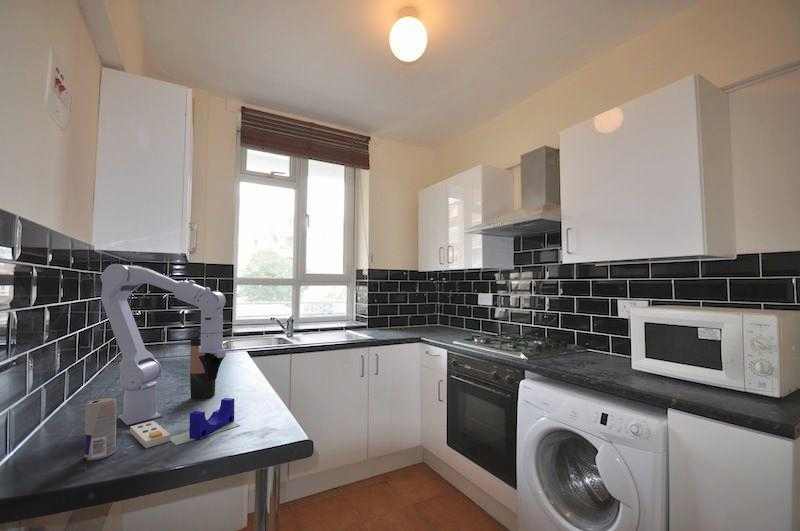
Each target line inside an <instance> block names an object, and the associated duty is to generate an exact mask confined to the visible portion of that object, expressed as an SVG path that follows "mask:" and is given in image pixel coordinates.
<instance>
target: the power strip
mask: <svg viewBox="0 0 800 531" xmlns="http://www.w3.org/2000/svg"><path fill="white" fill-rule="evenodd" d="M129 430H130V431H129V432H130V434H131V435H132V436H133V437H134V438H135V439H136V440H137V441H138V442H139V443H140V444H141V445H142V446H143V447H144V448H145V449H148V448H151V447H154V446H157V445H161V444H165V443H168V442H171V441H170V437H171V434H170V433H169V431H167V430H165V428H163V427H162V426H161V425H159V424H158V423H157V422H156V421H154V420H151V421H146V422H143V423H139V424H135V425H131V426H130V427H129Z"/></svg>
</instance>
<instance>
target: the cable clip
mask: <svg viewBox="0 0 800 531" xmlns="http://www.w3.org/2000/svg"><path fill="white" fill-rule="evenodd" d="M233 421H234V422H235V398H233V397H230V398H229V397H223V398H222V399H220V406H219V409H217V410H215V411H213V412H212V413H211V415H210V416H209V418H208V419H207V418H206V412H205V411H199V410H198V411H196V410H195V411H191V412H189V431H190V433H189V438H191V439H196V440H201V439H203V438H205V437H207V435H208V436H210V435H209V434H211V433H213V432H214V431H216V430H218V429H220V428H222V427H224V426H226V425H227V424H229V423H231V422H233Z"/></svg>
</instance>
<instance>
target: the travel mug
mask: <svg viewBox="0 0 800 531" xmlns="http://www.w3.org/2000/svg"><path fill="white" fill-rule="evenodd" d="M199 346H201V335H197V336H193V337H191V338H190V353H189V354H190V355H189V356H190V357H189V358H190V360H189V362H190V363H189V364H190V365H189V385H190V390H189V391H190V399H191V401H205V400H209V399H211V398H213V397H215V394H216V380H211V381H208V380H207V379H206V375H205V371H204V367H203V365H202V362H201V361H200V359H199V356H204V355H205V353H203V352H199Z"/></svg>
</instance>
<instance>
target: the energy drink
mask: <svg viewBox="0 0 800 531" xmlns="http://www.w3.org/2000/svg"><path fill="white" fill-rule="evenodd" d="M117 402H118V401H117V399H116V396H103V397H98V398H94V399H91V400H89V401H87V402H86V405H85V417H84V418H85V419H84V425H85V426H84V452H83V453H84V456H83V457H84V459H85V460H86V461H97V460H98V461H99V460H102V459H106V458H108V457H110V456H112V455H113V454H114V453H115V452H116V450H117V449H116V448H117V411H118V409H117V408H118V407H117V406H118V404H117Z"/></svg>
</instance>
